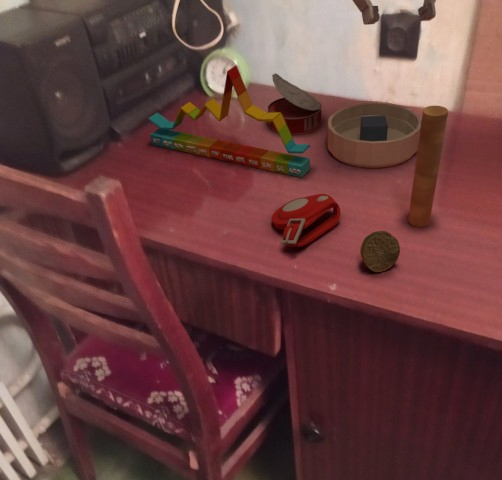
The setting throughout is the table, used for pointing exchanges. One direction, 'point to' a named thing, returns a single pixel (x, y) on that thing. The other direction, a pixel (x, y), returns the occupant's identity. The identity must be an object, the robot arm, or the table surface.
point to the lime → (379, 251)
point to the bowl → (373, 152)
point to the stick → (427, 164)
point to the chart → (228, 149)
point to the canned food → (295, 108)
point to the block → (373, 128)
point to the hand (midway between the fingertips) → (400, 21)
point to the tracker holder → (305, 218)
